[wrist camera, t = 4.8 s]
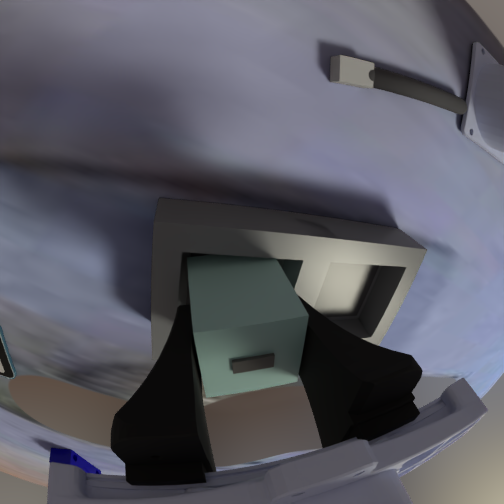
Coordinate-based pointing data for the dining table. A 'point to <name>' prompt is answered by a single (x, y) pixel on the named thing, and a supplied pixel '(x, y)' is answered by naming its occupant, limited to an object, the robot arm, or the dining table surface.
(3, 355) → the smartphone
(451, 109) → the cable piece
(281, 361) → the block
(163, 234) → the grey piece
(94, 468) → the cable holder
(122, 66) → the dining table surface
